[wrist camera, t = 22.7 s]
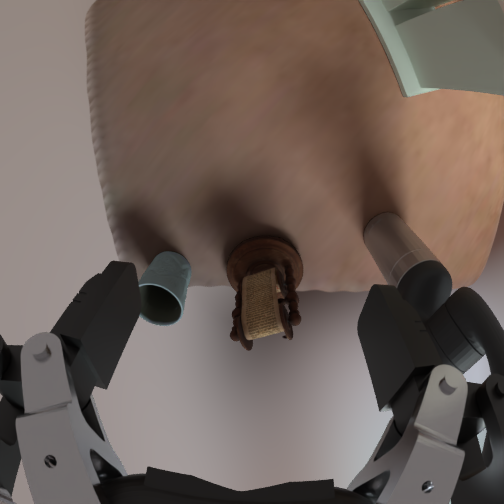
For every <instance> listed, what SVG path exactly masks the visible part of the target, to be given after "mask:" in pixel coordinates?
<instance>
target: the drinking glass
mask: <svg viewBox="0 0 504 504" xmlns="http://www.w3.org/2000/svg"><path fill="white" fill-rule="evenodd" d="M190 277H191V267H190V264H189V262H188V261H187V260H186V258H184V256H181V255H180V254H178V253H175V252H170V251H169V252H168V251H165V252H162V253H160V254H158V255H157V256H156V257H155V258H154V260H153V261H152V263H151V264H150V265H149V267H148V268H147V270H146V271H145V273H144V274H143V275H142V277H141V279H140V280H139V282H138V284H139V289H140V295H141V301H142V305H141V312H140V315H139V316H140V317H141V318H143V319H144V320H146V321H148V322H150V323H152V324H155V325H160V326H169V325H173V324H175V323H176V322H178V321H179V320H180V319H181V317H182V315H183V310H184V304H185V299H186V294H187V288H188V284H189V282H190Z"/></svg>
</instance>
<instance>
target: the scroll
mask: <svg viewBox="0 0 504 504" xmlns="http://www.w3.org/2000/svg"><path fill="white" fill-rule="evenodd" d="M227 277H228V280H229V282H230V284H231V286H232V287H233V289H234V290H235V291H236V292H237V294H236V296H235V300H236V303H235V305H236V308H235V309H234V310H233V312H232V317H233V319H234V320H233V325H234V326H233V327H232V331H231V333H230V337H231V339H232V340H233V341H239V340H240V342H241V344H242V346H243V347H244V348H245V349H246V350H248V351H249V350H251V349H252V346H253V339H256V338H259V337H264V336H268V335H271V334H275V333H279V332H283V331H284V332H285V334H286V336H287V338H288V339H289V340H291V339H292V338H293V330H292V325H293V326H296V325H299V324H300V322H301V316H300V315H299V311H298V310H297V309H298V303H299V298H298V295H297V293H296V292H295V290H296V288H297V287H298V286H299V284H300V282H301V280H302V277H303V264H302V260H301V257H300V255H299V253H298V252H297V250H296V249H295V248H294V247H293V246H292V245H291V244H289V243H288V242H286V241H284V240H282V239H281V238H276V237H270V236H260V237H254V238H251V239H248V240H246V241H244V242H242V243H241V244H239V245H238V246H237V247H236V248H235V249H234V250H233V252H232V253H231V255H230V257H229V259H228V263H227ZM283 298H284V299H283ZM285 304H288V305H289V306H288V307H289V310H290V312H289V314H288V312H287V310H286V308H285V306H284V305H285Z"/></svg>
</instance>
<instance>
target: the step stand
mask: <svg viewBox="0 0 504 504" xmlns="http://www.w3.org/2000/svg"><path fill="white" fill-rule="evenodd" d="M450 1H453V0H359V2H360V4H361V5H362V7H363V9H364V11H365V12H366V14H367V16H368V18H369V20H370V22H371V24H372V25H373V27H374V29H375V31H376V33H377V35H378V37H379V39H380V41H381V44H382V46H383V48H384V50H385V52H386V54H387V57H388V59H389V61H390V64H391V66H392V68H393V71H394V73H395V76H396V78H397V81H398V84H399V86H400V89H401V92H402V95H403V97H410V96H414V95H418V94H422V93H426V92H430V91H434V90H438V89H453V90H465V91H474V92H483V93H490V94H497V95H503V96H504V0H463V1H459V2H456V3H453V4H450V5H447V6H444V7H441V8H438V9H436V10H435V8H434V7H436V6H439V5H441V4H444V3H447V2H450Z"/></svg>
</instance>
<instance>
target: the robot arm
mask: <svg viewBox="0 0 504 504" xmlns="http://www.w3.org/2000/svg"><path fill="white" fill-rule="evenodd" d="M364 242H365V245H366V247H367V248H368V250H369V252H370V253H371V255H372V257H373V259H374V260H375V262H376V264H377V266H378V267H379V269H380V271H381V273H382V274H383V276H384V278H385V280H386V281H387V283H388V285H379V284H374V285H373V286H372V287H371V289H370V291H369V294H368V297H367V299H366V302H365V304H364V307H363V309H362V312H361V314H360V317H359V320H358V327H357V330H358V336H359V339H360V342H361V346H362V349H363V352H364V356H365V359H366V363H367V366H368V370H369V373H370V377H371V380H372V384H373V388H374V392H375V395H376V399H377V403H378V407H379V411H380V412H381V411H389V410H392V411H393V415H394V416H393V417H392V418H391V420H390V421H389V423H388V425H387V427H386V429H385V431H384V433H383V435H382V437H381V439H380V441H379V443H378V444H377V446H376V448H375V450H374V452H373V454H372V456H371V457H370V459H369V461H368V462H367V464H366V465H365V467H364V468H363V469H362V470H361V471H360V472H359V473H358V474H357V475H356V477H355V478H354V479H353V480H352V482H351V483H350V484H349V486H348V487H347V489H343V488H339V487H334V482H333V479H329V480H318V481H303V482H288V483H284V484H279V485H275V486H270V487H265V488H260V489H255V490H249V491H236V490H232V489H229V488H226V487H222V486H220V485H217V484H213V483H211V482H208V481H205V480H203V479H200V478H197V477H195V476H192V475H186V474H180V473H175V472H170V471H165V470H160V469H156V468H152V467H147V472H146V474H133V475H127V473H126V470H125V469H124V466H123V465H122V463H121V461H120V459H119V458H118V456H117V455H116V453H115V452H114V450H113V448H112V447H111V445H110V442H109V440H108V438H107V435H106V432H105V430H104V427H103V424H102V422H101V419H100V416H99V413H98V410H97V407H96V404H95V401H94V398H93V396H92V391H93V389H94V386H97V387H100V388H103V389H107V388H108V385H109V383H110V380H111V378H112V375H113V373H114V371H115V368H116V366H117V364H118V361H119V359H120V357H121V355H122V352H123V350H124V348H125V346H126V343H127V341H128V339H129V337H130V335H131V332H132V330H133V328H134V326H135V324H136V322H137V319H138V318H139V315H140V312H141V305H142V301H141V295H140V289H139V284H138V279H137V273H136V268H135V265H134V264H133V263H129V262H120V261H111V262H110V263H109V265H108V266H107V267H106V268H105V270H104V271H103V272H102V274H99V273H98V274H97V275H95V276H94V277H92V278H91V279H89V280H88V281H87V282H86V283H85V284H84V285H83V287H82V288H81V290H80V291H79V294H78V293H77V295H76V296H75V298H74V299H73V302H71V303H70V304H69V306H68V307H67V309H66V310H65V311H64V313H63V314H62V316H61V317H60V319H59V320H58V321H57V323H56V324H55V326H54V327H53V329H52V330H51V332H50V333H47V332H44V333H39V334H36V335H34V336H32V337H31V338H30V339H28V340H27V341H26V343H25V344H24V346H23V345H21V346H20V345H7V344H6V343H5V341H4V340H3V338H2V336H1V335H0V393H1V395H2V396H3V397H2V399H1V401H0V504H16V503H15V502H13V500H12V498H11V496H12V492H13V487H14V483H15V479H16V475H17V472H18V468H19V464H20V461H21V458H22V462H23V466H24V470H25V474H26V478H27V482H28V485H29V488H30V492H31V495H32V498H33V501H34V504H449V502H450V499H451V504H504V330H503V329H502V327H501V325H500V323H499V322H498V320H497V318H496V317H495V315H494V314H493V312H492V311H491V309H490V308H489V306H488V305H487V304H486V302H485V301H484V300H483V299H482V298H481V296H480V295H479V294H477V293H476V292H475V291H474V290H472V289H471V288H468V287H461V288H459V289H458V290H457V291H455V292H454V293H453V294H452V295H451V296H450V294H451V290H452V279H451V276H450V274H449V272H448V271H447V269H446V268H445V267H444V266H443V265H442V263H441V262H440V261H439V260H438V259H437V257H436V256H435V255H434V254H433V253H432V252H431V251H430V249H429V248H428V247H427V246H426V245H425V244H424V243H423V242H422V240H421V239H420V238H419V237H418V236H417V235H416V234H415V233H414V232H413V231H412V230H411V229H410V227H409V226H408V225H407V224H406V223H405V222H404V221H403V220H402V219H401V218H400V217H399V216H398V215H396V214H394V213H382V214H379V215H377V216H375V217H374V218H373V219H372V220H371V221H370V222H369V223H368V225H367V226H366V229H365V232H364ZM485 354H486V356H487V359H488V362H489V366H490V371H491V375H490V376H489V377H488V378H487V379H486V380H485V381H484V382H483V383H482V384H477V383H471V382H466V379H465V378H464V376H463V374H464V373H465V372H466V371H467V370H468V369H470V368H471V367H472V366H473V365H474V364H475V363H476V362H477V361H478V360H480V359H481V358H482V357H483V356H484V355H485ZM485 428H486V430H487V433H486V438H485V442H484V447H483V451H482V453H481V449H480V445H479V441H478V438H477V434H479V433H480V432H481V431H482V430H483V429H485Z"/></svg>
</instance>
